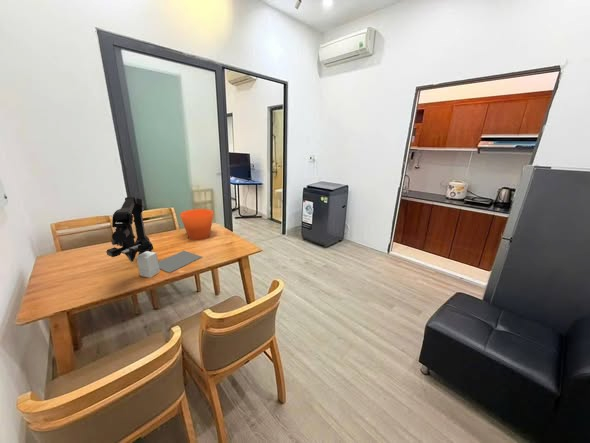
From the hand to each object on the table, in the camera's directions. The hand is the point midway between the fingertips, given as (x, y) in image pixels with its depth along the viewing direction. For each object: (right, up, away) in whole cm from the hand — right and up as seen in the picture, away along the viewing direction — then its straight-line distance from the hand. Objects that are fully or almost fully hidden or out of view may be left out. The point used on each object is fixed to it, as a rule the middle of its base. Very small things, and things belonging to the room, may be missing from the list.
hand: (132, 261), depth 129 cm
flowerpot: (+10, +9, +67) cm, 68 cm away
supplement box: (+4, -9, +10) cm, 14 cm away
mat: (+12, -4, +25) cm, 28 cm away
